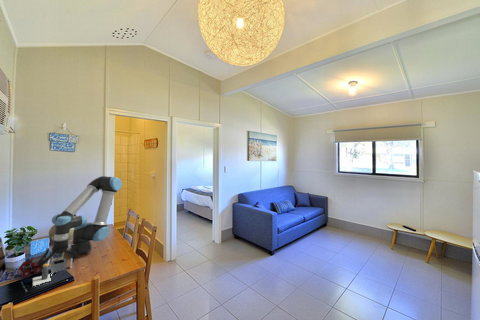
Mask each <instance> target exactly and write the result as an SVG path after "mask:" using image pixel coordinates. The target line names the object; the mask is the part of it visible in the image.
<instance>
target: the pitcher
mask: <svg viewBox="0 0 480 320" xmlns="http://www.w3.org/2000/svg"><path fill="white" fill-rule="evenodd" d="M76 214H77V213H76ZM76 214H75V215H74V216H77V215H76ZM55 226H56V224H54V225H52V226H51V227H50V229H49V231H48V235H49V238H50V239H51V240H52V241H54V235H55ZM73 232H74V228H71V229H70V230H69V238H68V243H70V242H73Z"/></svg>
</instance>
